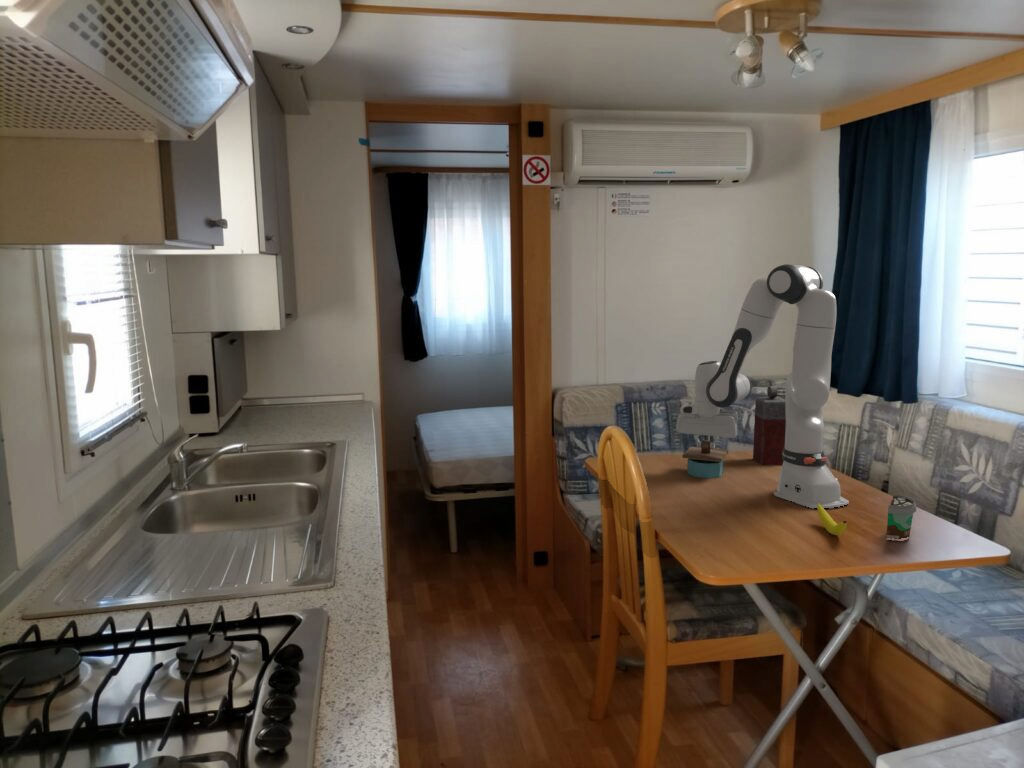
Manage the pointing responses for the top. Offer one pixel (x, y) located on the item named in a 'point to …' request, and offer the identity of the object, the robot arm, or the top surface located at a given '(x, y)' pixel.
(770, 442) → the dark red canister
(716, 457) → the lid
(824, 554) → the top surface
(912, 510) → the food container
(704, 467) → the bowl
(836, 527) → the banana
